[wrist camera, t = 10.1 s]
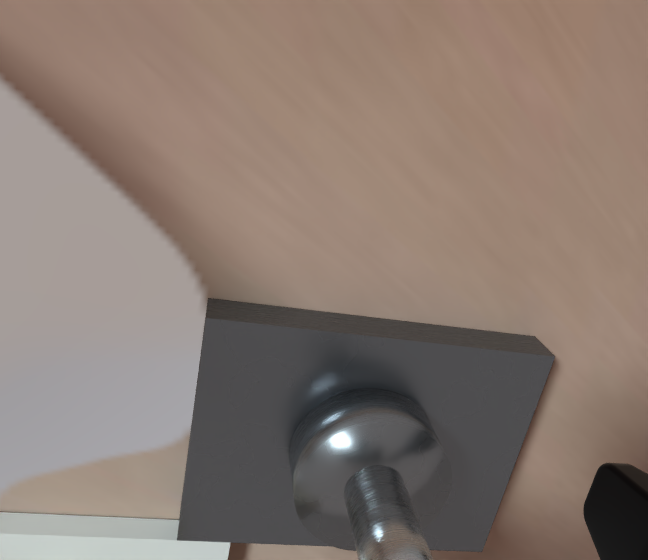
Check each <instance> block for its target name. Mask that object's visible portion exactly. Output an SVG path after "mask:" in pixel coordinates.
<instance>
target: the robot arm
mask: <svg viewBox="0 0 648 560" xmlns="http://www.w3.org/2000/svg"><path fill="white" fill-rule="evenodd" d="M584 518H585V522H586V525H587V527H588V530H589V532H590V535H591V537H592V540H593V542H594V544H595V547H596V549H597V552H598V554H599V557H600V559H601V560H648V474H647V473H645V472H643V471H641V470H640V469H638V468H636V467H634V466H632V465H629V464H621V463H605V464H603V465H601V466H600V467H599V469H598V471H597V473H596V475H595V478H594V480H593V483H592V485H591V488H590V490H589V493H588V495H587V498H586V500H585V503H584Z"/></svg>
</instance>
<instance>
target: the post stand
mask: <svg viewBox="0 0 648 560" xmlns="http://www.w3.org/2000/svg"><path fill="white" fill-rule="evenodd" d="M554 358H555V356H554V355H553V354H552V353H551V352H550V351H549V350H548V349H547V348H546V347H545V346H544V345H543V344H542V343H541V342H540V341H539V340H538V339H537V338H536V337H535V336H526V335H518V334H509V333H501V332H492V331H484V330H475V329H467V328H458V327H450V326H441V325H432V324H424V323H415V322H407V321H398V320H390V319H381V318H373V317H364V316H356V315H347V314H339V313H330V312H322V311H313V310H305V309H296V308H288V307H279V306H271V305H262V304H254V303H245V302H237V301H228V300H220V299H211V298H208V303H207V311H206V319H205V326H204V334H203V341H202V349H201V357H200V364H199V373H198V380H197V387H196V395H195V403H194V410H193V418H192V426H191V433H190V441H189V448H188V456H187V464H186V471H185V479H184V487H183V494H182V502H181V510H180V518H179V526H178V534H177V541H203V542H230V543H257V544H284V545H311V546H334V547H337V548H340V549H345V550H353V551H357V555H358V559H359V560H433V557H432V555H431V552H430V550H445V551H471V552H482V550H483V548H484V545H485V542H486V540H487V537H488V534H489V532H490V529H491V526H492V524H493V521H494V518H495V516H496V513H497V510H498V508H499V505H500V502H501V500H502V497H503V494H504V492H505V489H506V486H507V484H508V481H509V478H510V476H511V473H512V470H513V468H514V465H515V462H516V460H517V457H518V454H519V452H520V449H521V446H522V444H523V441H524V438H525V436H526V433H527V430H528V428H529V425H530V422H531V420H532V417H533V414H534V412H535V409H536V406H537V404H538V401H539V398H540V396H541V393H542V390H543V388H544V385H545V382H546V380H547V377H548V374H549V372H550V369H551V366H552V364H553V361H554Z"/></svg>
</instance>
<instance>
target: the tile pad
mask: <svg viewBox="0 0 648 560" xmlns="http://www.w3.org/2000/svg"><path fill="white" fill-rule="evenodd" d="M178 526H179V520H168V519H146V518H123V517H100V516H78V515H55V514H32V513H9V512H0V560H228V554H229V548H230V542H203V541H177V534H178Z"/></svg>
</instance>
